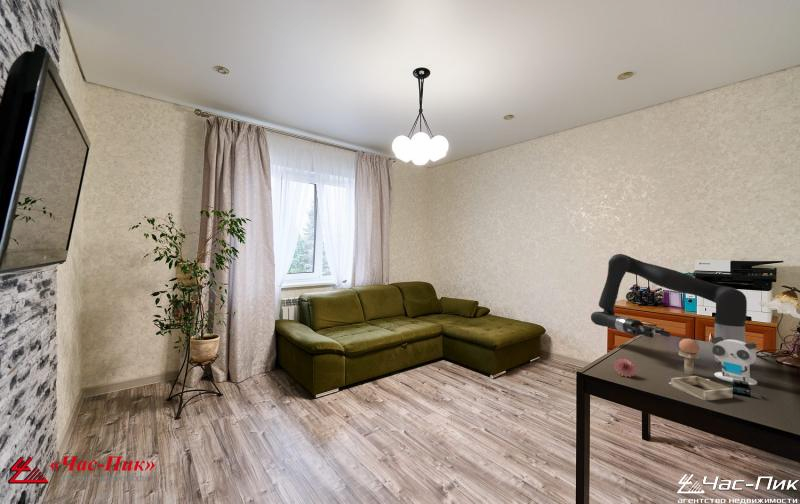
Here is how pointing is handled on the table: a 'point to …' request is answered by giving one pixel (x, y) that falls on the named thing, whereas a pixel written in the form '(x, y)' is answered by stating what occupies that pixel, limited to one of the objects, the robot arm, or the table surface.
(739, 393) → the black slotted stand
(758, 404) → the table surface
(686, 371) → the tee
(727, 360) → the panda figurine
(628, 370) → the flower
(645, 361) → the table surface
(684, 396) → the table surface
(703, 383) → the corral
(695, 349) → the ball
